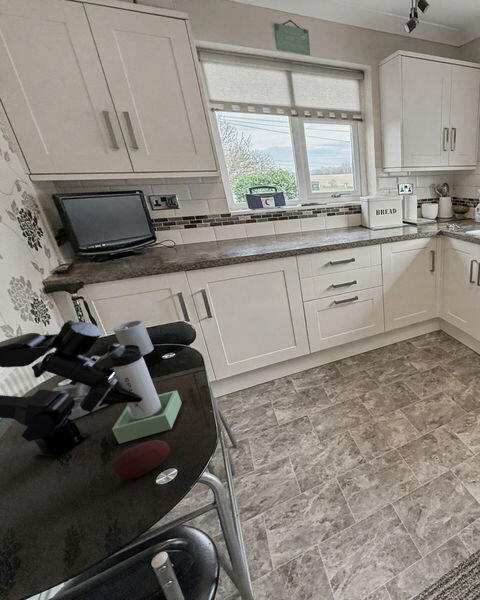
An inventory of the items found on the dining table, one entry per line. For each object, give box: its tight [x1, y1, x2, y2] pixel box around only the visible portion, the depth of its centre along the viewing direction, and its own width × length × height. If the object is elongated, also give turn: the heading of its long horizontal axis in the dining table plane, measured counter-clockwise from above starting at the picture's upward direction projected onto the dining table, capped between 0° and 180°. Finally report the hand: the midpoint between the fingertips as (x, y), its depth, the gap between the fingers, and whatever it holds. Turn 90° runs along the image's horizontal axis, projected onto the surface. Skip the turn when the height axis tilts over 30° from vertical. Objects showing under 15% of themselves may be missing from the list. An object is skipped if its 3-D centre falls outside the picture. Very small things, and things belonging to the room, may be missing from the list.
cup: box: [112, 319, 155, 356], centre depth 128 cm, size 9×9×12 cm
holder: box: [111, 390, 183, 444], centre depth 88 cm, size 12×12×5 cm
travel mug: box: [107, 345, 162, 421], centre depth 85 cm, size 6×7×20 cm
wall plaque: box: [51, 379, 118, 421], centre depth 103 cm, size 24×19×4 cm
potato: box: [113, 439, 171, 480], centre depth 73 cm, size 7×10×6 cm
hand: (145, 393), depth 86 cm, fingers closed on travel mug, 6 cm apart
